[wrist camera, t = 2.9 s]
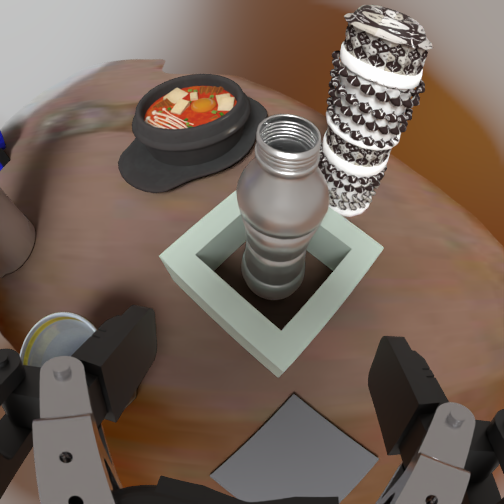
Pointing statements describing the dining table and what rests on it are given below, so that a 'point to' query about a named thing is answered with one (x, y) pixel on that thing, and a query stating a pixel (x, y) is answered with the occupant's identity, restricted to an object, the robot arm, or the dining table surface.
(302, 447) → the rubber mat
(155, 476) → the dining table surface
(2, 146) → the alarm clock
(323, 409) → the dining table surface
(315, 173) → the plastic bottle
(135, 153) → the casserole
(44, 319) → the ceramic cup
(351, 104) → the black and white cylinder
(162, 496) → the robot arm
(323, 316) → the holder block
